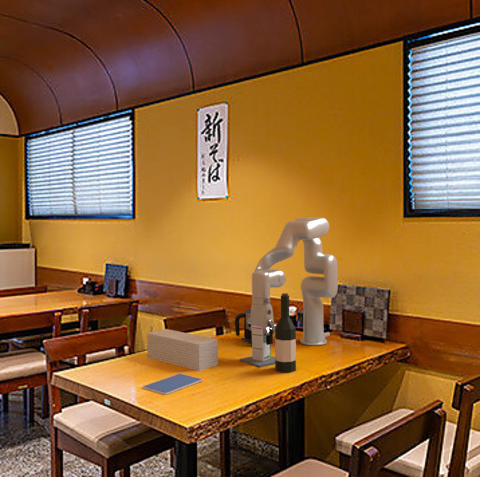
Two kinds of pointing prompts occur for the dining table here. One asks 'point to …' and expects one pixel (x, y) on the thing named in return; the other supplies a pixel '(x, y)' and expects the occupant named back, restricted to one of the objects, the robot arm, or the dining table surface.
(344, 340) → the dining table surface
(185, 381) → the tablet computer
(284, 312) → the wine bottle
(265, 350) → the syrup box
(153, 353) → the stack of papers
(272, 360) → the mat
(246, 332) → the milk frother
